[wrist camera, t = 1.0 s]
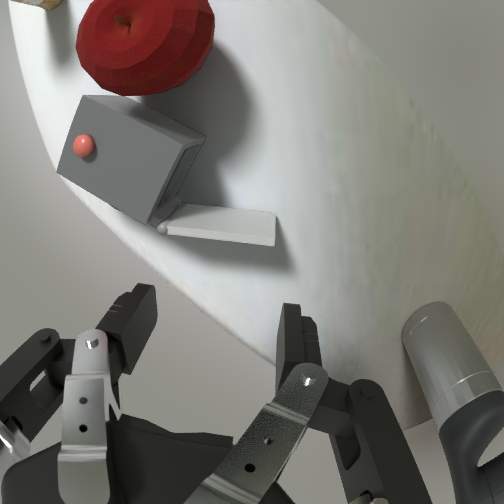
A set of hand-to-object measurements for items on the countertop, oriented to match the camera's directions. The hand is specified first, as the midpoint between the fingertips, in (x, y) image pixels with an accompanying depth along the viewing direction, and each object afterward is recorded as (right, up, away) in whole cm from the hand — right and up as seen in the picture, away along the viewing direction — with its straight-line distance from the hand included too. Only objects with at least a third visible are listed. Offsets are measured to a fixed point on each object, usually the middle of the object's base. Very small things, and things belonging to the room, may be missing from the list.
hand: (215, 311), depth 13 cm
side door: (-1, +7, +20) cm, 21 cm away
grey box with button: (-10, +14, +18) cm, 25 cm away
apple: (-7, +24, +13) cm, 28 cm away
